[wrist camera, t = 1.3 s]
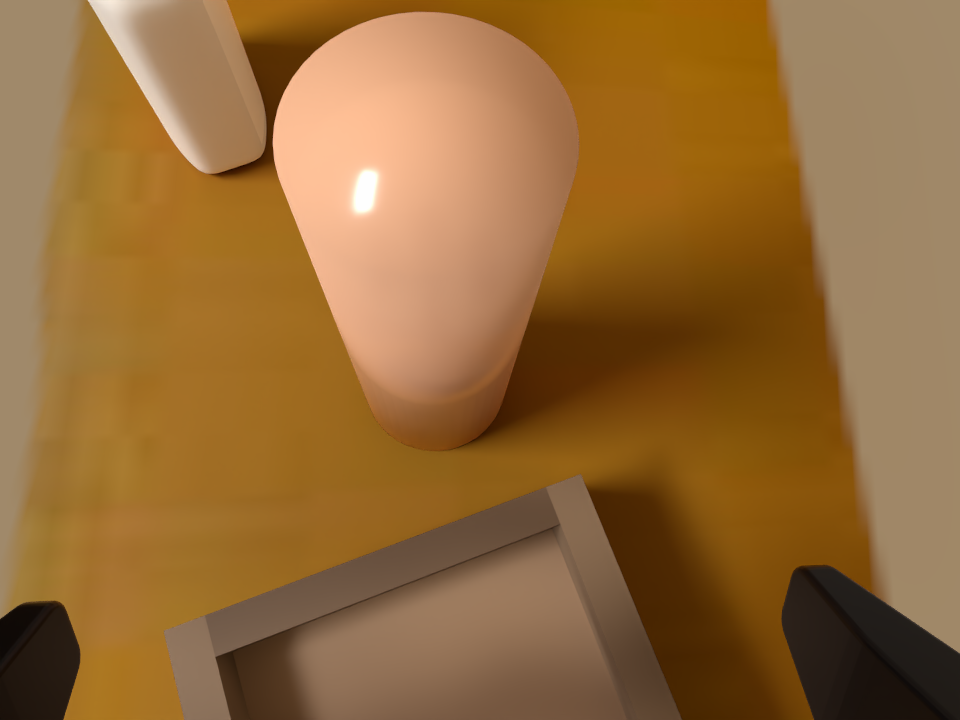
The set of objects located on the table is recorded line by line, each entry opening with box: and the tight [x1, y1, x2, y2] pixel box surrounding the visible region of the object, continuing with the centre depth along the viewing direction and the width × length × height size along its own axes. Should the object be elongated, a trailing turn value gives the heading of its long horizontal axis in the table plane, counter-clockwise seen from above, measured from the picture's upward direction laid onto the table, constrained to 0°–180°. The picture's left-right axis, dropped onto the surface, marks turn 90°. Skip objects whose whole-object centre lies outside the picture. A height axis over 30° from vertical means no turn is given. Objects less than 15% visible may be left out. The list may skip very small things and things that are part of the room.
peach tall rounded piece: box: [273, 12, 579, 451], centre depth 17 cm, size 4×4×13 cm
